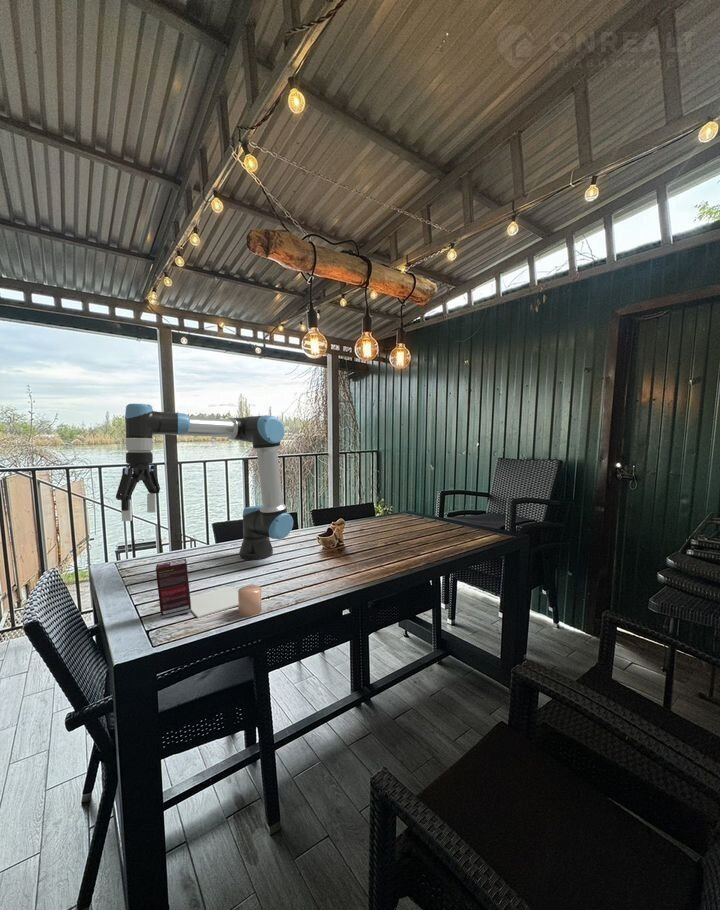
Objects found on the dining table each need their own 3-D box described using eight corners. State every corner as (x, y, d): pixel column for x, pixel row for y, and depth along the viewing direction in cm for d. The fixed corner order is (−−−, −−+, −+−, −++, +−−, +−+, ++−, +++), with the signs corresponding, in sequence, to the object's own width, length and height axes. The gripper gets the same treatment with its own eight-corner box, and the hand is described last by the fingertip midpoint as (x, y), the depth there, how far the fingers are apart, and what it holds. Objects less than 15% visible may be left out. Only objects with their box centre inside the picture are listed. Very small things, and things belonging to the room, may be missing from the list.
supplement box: (191, 605, 119) (186, 557, 118) (191, 611, 115) (187, 562, 114) (160, 612, 116) (156, 563, 114) (160, 619, 111) (155, 568, 110)
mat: (231, 587, 135) (231, 586, 135) (250, 601, 123) (250, 600, 123) (181, 600, 124) (181, 599, 124) (197, 618, 112) (197, 616, 112)
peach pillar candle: (255, 604, 122) (255, 583, 121) (265, 611, 117) (265, 590, 116) (234, 610, 117) (234, 589, 117) (244, 618, 112) (244, 596, 112)
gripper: (149, 450, 132) (150, 509, 133) (100, 452, 107) (101, 524, 108) (170, 450, 132) (171, 509, 133) (126, 452, 107) (127, 525, 108)
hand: (140, 516), depth 121 cm, fingers open, 13 cm apart
